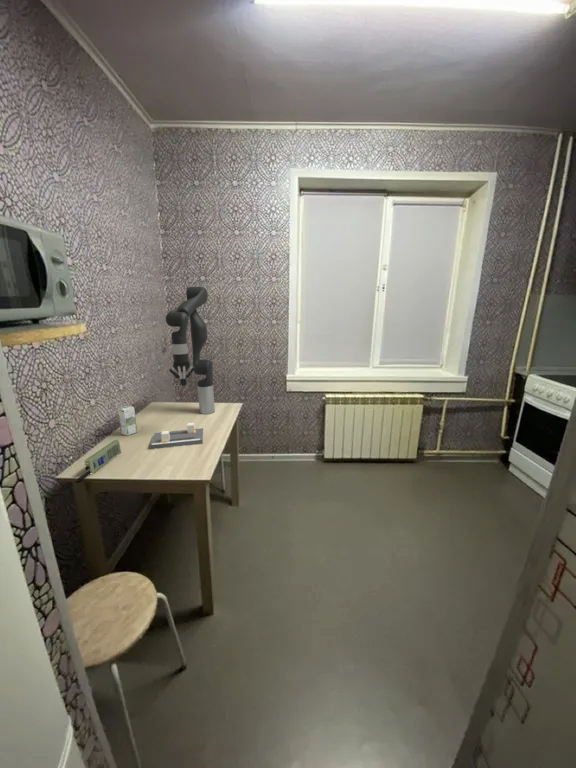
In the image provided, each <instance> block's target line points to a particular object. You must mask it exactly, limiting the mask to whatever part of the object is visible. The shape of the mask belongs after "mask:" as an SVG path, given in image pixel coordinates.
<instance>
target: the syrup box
mask: <svg viewBox="0 0 576 768" xmlns="http://www.w3.org/2000/svg"><path fill="white" fill-rule="evenodd" d="M135 411H136V410H135V407H134V406H131V405H125V406H122V407H118V408H117V413H118V422H119V428H120V434H121V435H124V436H127V437H128V436H132V435H134V434H136V433H138V428H137V419H136V412H135Z"/></svg>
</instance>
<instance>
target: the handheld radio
mask: <svg viewBox="0 0 576 768" xmlns="http://www.w3.org/2000/svg"><path fill="white" fill-rule="evenodd" d="M121 453H122V449H121V445H120V440H119V439H114V440H112V441H111V442H109V443H108V444H107V445H105V446H104V447H102V448H100V449H98V451H96V452H95V453H93V454H91V455H90V456H88V457H87V458H86V459H84V461H83V463H84V465H85V468H84V469H85V470H86V473H83V474H82V475H81V476H79V477H78V478H77V481H78V482H81V481H82V480H84V479H85V478H86V477H87V476H89V475H88V474H90V473H94V472H95V473H97V472H98V471H100V469H102V468H103V467H104V466H106V465H107V464H108V463H110V462H111V461H112V460H114V459H115V458H116V457H118V456H119V455H120V454H121ZM117 455H118V456H117ZM113 458H114V459H113ZM109 461H110V462H109ZM105 464H106V465H105ZM101 467H102V468H101ZM97 470H98V471H97ZM95 473H94V474H95Z"/></svg>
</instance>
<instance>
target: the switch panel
mask: <svg viewBox="0 0 576 768" xmlns="http://www.w3.org/2000/svg"><path fill="white" fill-rule="evenodd" d="M168 431H169V434H170V440H169V441H167V442H162V438H161V433H162V431H161V432H160V431H159V432H154V434H153V435H152V438H151V441H150V443H149V450H155V449H154V448H157V449H164V448H165V447H166V448H173V447H174V446H175V447H182V446H183V445H185V446H193V444H194V445H200V444H201V445H202V444H204V442H203V441H204V428H203V427H202V428H194V432H193V433H188V431H187V429H184V430H183V429H182V430H171V431H170V430H168ZM183 447H184V446H183Z"/></svg>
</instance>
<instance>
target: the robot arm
mask: <svg viewBox="0 0 576 768" xmlns="http://www.w3.org/2000/svg"><path fill="white" fill-rule="evenodd" d="M185 292H186V293H185V294H186V300H184V301H183V302H181V303H180V304H179V306H178V307H176V308H173V309H172V310H170V311H168V313H167V314H166V316H165V322H166V324H167V325H168V326H169V327H177V328H178V327H179V329H178V330H177V331H172V332H171V335H170V336H171V345H172V346H171V347H172V349H171V350H172V351H171V353H172V361H173V365H172V366H171V368H169V369H168V371H169V372H170V373H171V374H172V375H173V376H174V377H175V378H176V379H179V380H180V381H179V382H180V386H182V387H185V386H186V385H187V378H189V377H190V376H191V375H192V374H193V373H194V374H195V375H197V376H199V375H200V376H205V377H204V378H203V379H199V380H198V381H197V385H196V386H197V394H198V395H197V396H198V408H199V414H202V415H208V414H209V415H210V414H213V413H215V411H216V408H215V396H214V395H215V394H214V393H215V392H214V382H213V380H214V377H213V376H214V375H213V369H214V368H213V362H212V360H211V359H201V358H200V356H201V352H202V349H203V347H204V346H205V344H206V342H207V339H208V328H207V325H206V322H204V320H203V318H202V317H201V316H200V314H199V311H198V308H200V307H201V306H202V305H204V304H206V302H207V301H208V299H209V296H208V295H209V293H208V290H207V289H206V288H205V287H204V286H189V287H187V288H186V291H185ZM189 323H190V325H189ZM188 326H190V337H191V338H190V339H191V345H192V365H191V362H190V357H189V346H188V342H187V338H188V337H187V332H188ZM187 371H188V373H187Z"/></svg>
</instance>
